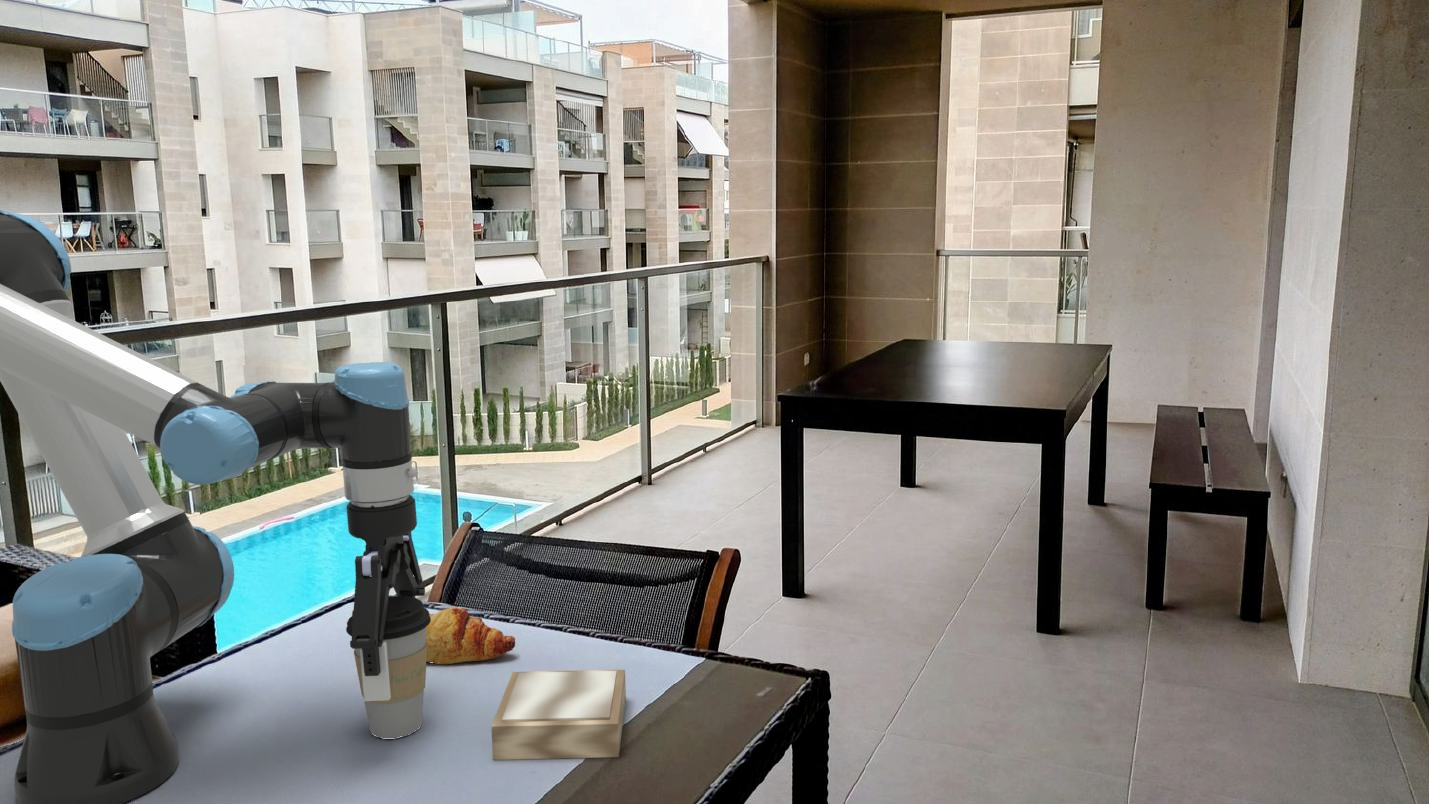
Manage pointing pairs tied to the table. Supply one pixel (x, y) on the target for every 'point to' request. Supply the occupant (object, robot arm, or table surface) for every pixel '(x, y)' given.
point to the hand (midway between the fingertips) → (394, 673)
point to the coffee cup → (400, 668)
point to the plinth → (560, 715)
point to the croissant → (463, 638)
